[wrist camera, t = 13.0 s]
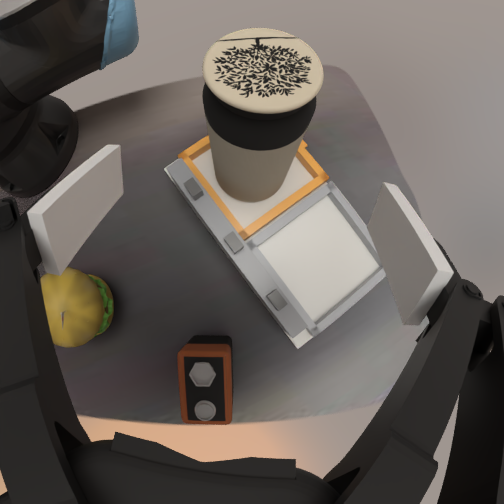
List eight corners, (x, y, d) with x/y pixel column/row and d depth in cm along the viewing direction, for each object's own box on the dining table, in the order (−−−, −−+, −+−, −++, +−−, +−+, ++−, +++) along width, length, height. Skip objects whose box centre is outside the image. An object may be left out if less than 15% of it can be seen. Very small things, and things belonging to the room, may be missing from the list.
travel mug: (286, 204, 33) (335, 119, 16) (213, 202, 33) (191, 113, 15) (284, 140, 34) (320, 30, 17) (216, 138, 34) (204, 24, 16)
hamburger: (76, 269, 32) (15, 259, 21) (129, 274, 33) (78, 266, 21) (73, 332, 31) (13, 346, 20) (126, 341, 32) (76, 363, 20)
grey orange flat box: (165, 171, 34) (150, 144, 27) (267, 107, 36) (274, 71, 29) (296, 347, 33) (312, 362, 25) (392, 264, 34) (426, 258, 27)
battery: (231, 334, 33) (229, 353, 23) (233, 392, 32) (232, 430, 22) (192, 334, 32) (173, 352, 22) (194, 392, 32) (179, 429, 22)
